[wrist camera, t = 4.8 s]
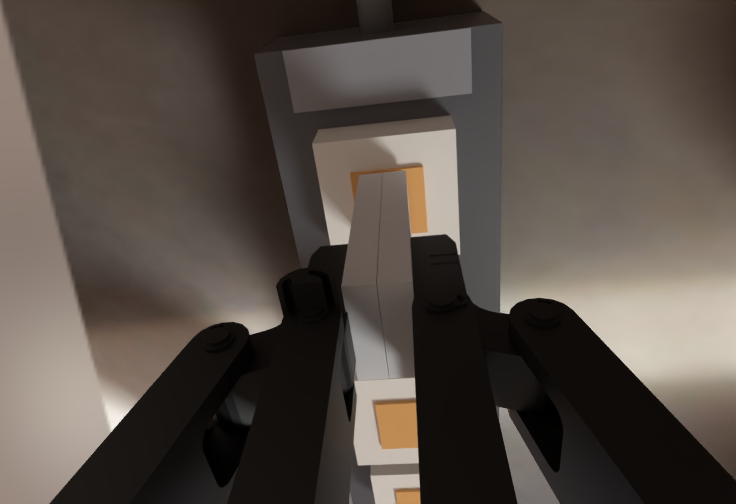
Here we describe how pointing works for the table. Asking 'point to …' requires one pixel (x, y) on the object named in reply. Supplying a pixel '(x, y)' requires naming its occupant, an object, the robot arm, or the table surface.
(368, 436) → the switch
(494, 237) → the power strip
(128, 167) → the table surface
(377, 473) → the switch
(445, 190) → the switch
